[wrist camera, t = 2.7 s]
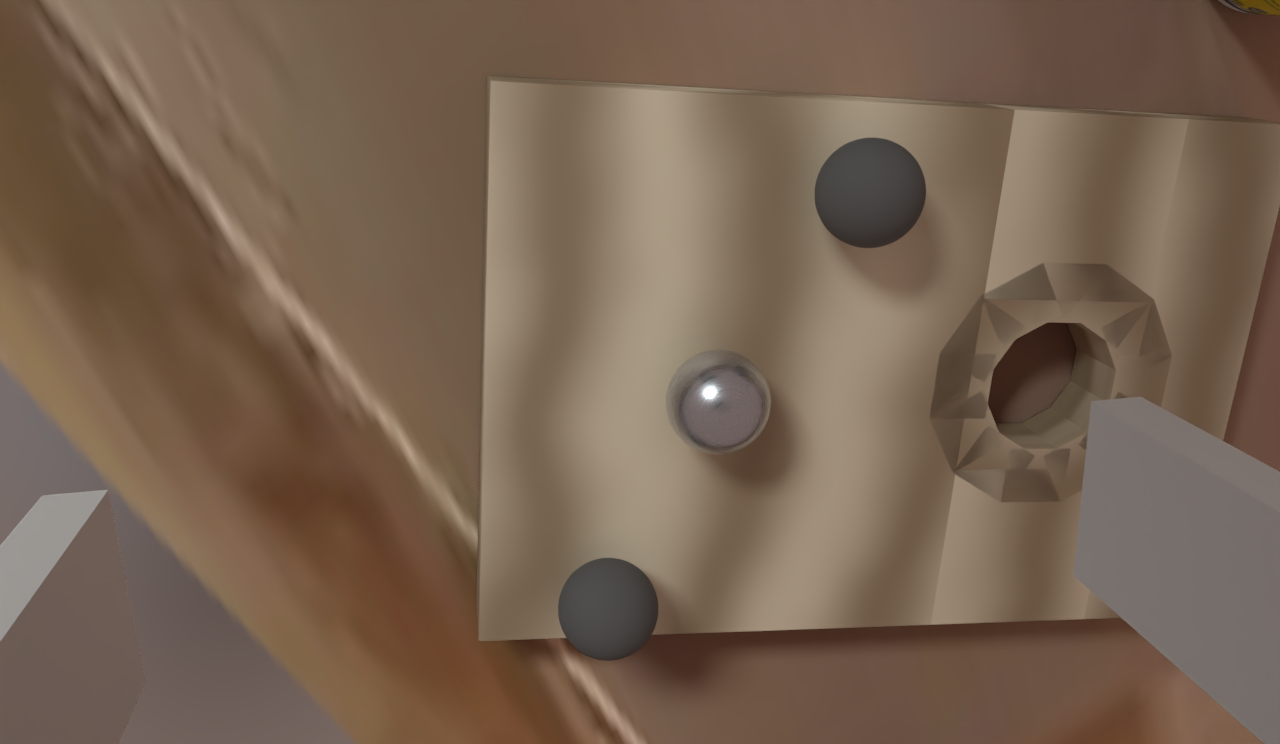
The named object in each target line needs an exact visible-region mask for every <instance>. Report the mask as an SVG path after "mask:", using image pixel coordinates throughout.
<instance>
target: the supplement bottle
mask: <svg viewBox="0 0 1280 744" xmlns="http://www.w3.org/2000/svg"><path fill="white" fill-rule="evenodd" d="M1218 1H1219V2H1221V3H1222V4H1224V5H1225V6H1227V7H1229V8H1231V9H1234V10H1237V11H1240V12H1244V13H1251V14H1263V15H1280V0H1218Z"/></svg>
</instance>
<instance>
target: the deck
mask: <svg viewBox="0 0 1280 744" xmlns="http://www.w3.org/2000/svg"><path fill="white" fill-rule="evenodd" d="M862 138H882V139H887V140H890V141H893V142H895V143H897V144H899V145H901V146H902V147H904V148H905V149H906V150H907V151H909V152H910V153H911V154H912V156H913V157H914V158H915V159H916V160H917V162H918V163H919V165H920V167H921V169H922V172H923V175H924V178H925V183H926V199H925V204H924V207H923V210H922V213H921V215H920V217H919V219H918V220H917V222H916V224H915V225H914V226H913V227H912V229H911V230H910V231H909V232H908V233H907V234H906V235H904V236H903V237H902V238H900V239H899V240H897V241H895V242H893V243H891V244H888V245H885V246H882V247H877V248H860V247H855V246H852V245H849V244H846V243H844V242H842V241H840V240H839V239H837V238H836V237H835V236H833V235H832V234H831V233H830V232H829V231H828V230H827V229H826V227H825V226H824V224H823V223H822V221H821V219H820V217H819V215H818V212H817V210H816V205H815V184H816V180H817V177H818V174H819V172H820V169H821V168H822V166H823V164H824V163H825V161H826V160H827V159H828V158H829V157H830V156H831V154H832V153H833V152H835V151H836V150H837V149H838V148H840V147H841V146H843V145H845V144H847V143H849V142H851V141H854V140H857V139H862ZM1279 207H1280V123H1279V122H1272V121H1265V120H1258V119H1251V118H1239V117H1221V116H1203V115H1185V114H1167V113H1149V112H1131V111H1113V110H1095V109H1077V108H1059V107H1041V106H1023V105H1005V104H987V103H969V102H951V101H933V100H915V99H896V98H878V97H860V96H842V95H824V94H806V93H788V92H770V91H752V90H734V89H716V88H698V87H680V86H662V85H644V84H626V83H608V82H590V81H572V80H554V79H536V78H518V77H500V76H487V110H486V159H485V208H484V257H483V307H482V356H481V405H480V454H479V504H478V553H477V602H476V603H477V620H478V636H479V641H496V640H523V639H551V638H566V636H565V634H564V632H563V631H562V628H561V625H560V622H559V616H558V603H559V597H560V594H561V591H562V588H563V586H564V584H565V583H566V581H567V579H568V578H569V577H570V575H571V574H572V573H573V572H574V571H575V570H577V569H578V568H579V567H581V566H582V565H584V564H585V563H588V562H590V561H592V560H596V559H600V558H616V559H621V560H625V561H627V562H630V563H631V564H633V565H635V566H636V567H638V568H639V569H640V570H642V571H643V572H644V574H645V575H646V576H647V577H648V578H649V580H650V581H651V583H652V585H653V587H654V589H655V591H656V595H657V599H658V619H657V623H656V626H655V629H654V631H653V633H652V635H661V634H689V633H717V632H744V631H772V630H799V629H827V628H855V627H882V626H910V625H937V624H965V623H993V622H1020V621H1048V620H1075V619H1103V618H1121V617H1120V616H1119V615H1117V614H1116V613H1115V612H1114V611H1113V610H1112V609H1111V608H1110V607H1108V606H1107V605H1106V604H1105V603H1104V602H1103V601H1102V600H1100V599H1099V598H1098V597H1097V596H1096V595H1095V594H1094V593H1093V592H1091V591H1090V590H1089V589H1088V588H1087V587H1086V586H1085V585H1083V584H1082V583H1081V582H1080V581H1079V580H1078V579H1077V578H1076V577H1074V576H1073V573H1074V563H1075V554H1076V544H1077V534H1078V524H1079V515H1080V505H1081V495H1082V485H1083V476H1084V466H1085V456H1086V447H1087V437H1088V427H1089V417H1090V408H1091V401H1098V400H1109V399H1120V398H1131V397H1143V398H1144V399H1146V400H1148V401H1150V402H1152V403H1154V404H1155V405H1157V406H1159V407H1161V408H1163V409H1165V410H1167V411H1168V412H1170V413H1172V414H1174V415H1176V416H1178V417H1180V418H1181V419H1183V420H1185V421H1187V422H1189V423H1191V424H1192V425H1194V426H1196V427H1198V428H1200V429H1202V430H1204V431H1205V432H1207V433H1209V434H1211V435H1213V436H1215V437H1217V438H1218V439H1220V440H1222V441H1223V440H1224V436H1225V431H1226V427H1227V423H1228V419H1229V415H1230V411H1231V407H1232V402H1233V398H1234V394H1235V390H1236V386H1237V382H1238V377H1239V373H1240V369H1241V365H1242V361H1243V357H1244V353H1245V348H1246V344H1247V340H1248V336H1249V332H1250V328H1251V323H1252V319H1253V315H1254V311H1255V307H1256V303H1257V299H1258V294H1259V290H1260V286H1261V282H1262V278H1263V274H1264V269H1265V265H1266V261H1267V257H1268V253H1269V249H1270V245H1271V240H1272V236H1273V232H1274V228H1275V224H1276V220H1277V215H1278V211H1279ZM1047 322H1054V323H1067V324H1068V327H1069V330H1070V332H1071V335H1072V338H1073V341H1074V344H1075V347H1076V354H1075V359H1074V364H1073V369H1072V374H1071V380H1070V382H1069V383H1068V384H1067V386H1066V387H1065V388H1064V390H1063V391H1062V392H1061V394H1060V395H1059V396H1058V398H1057V399H1056V400H1055V402H1054V403H1053V404H1052V406H1051V407H1050V408H1048V409H1047V410H1045V411H1043V412H1041V413H1039V414H1037V415H1035V416H1033V417H1032V418H1030V419H1028V420H1026V421H1024V422H1022V423H995V421H994V418H993V416H992V413H991V411H990V408H989V406H988V399H989V393H990V387H991V381H992V375H993V369H994V368H995V367H996V365H997V364H998V362H999V361H1000V360H1001V358H1002V357H1003V356H1004V354H1005V353H1006V352H1007V350H1008V349H1009V348H1010V346H1011V345H1012V343H1013V342H1014V341H1015V339H1017V338H1019V337H1021V336H1023V335H1025V334H1027V333H1029V332H1030V331H1032V330H1034V329H1036V328H1038V327H1040V326H1042V325H1044V324H1045V323H1047ZM718 349H721V350H729V351H733V352H736V353H738V354H741V355H743V356H745V357H746V358H748V359H749V360H751V361H752V362H753V363H754V364H755V365H756V366H757V367H758V368H759V369H760V370H761V372H762V373H763V375H764V377H765V378H766V380H767V383H768V385H769V389H770V394H771V410H770V415H769V419H768V422H767V424H766V426H765V428H764V429H763V431H762V432H761V434H760V435H759V436H758V437H757V438H756V439H755V440H754V441H753V442H752V443H751V444H750V445H748V446H747V447H745V448H743V449H741V450H739V451H736V452H733V453H729V454H722V455H716V454H708V453H704V452H701V451H698V450H696V449H694V448H692V447H691V446H689V445H688V444H686V443H685V442H684V441H683V440H682V439H681V438H680V437H679V436H678V435H677V434H676V432H675V431H674V429H673V428H672V426H671V423H670V421H669V418H668V415H667V410H666V394H667V389H668V385H669V383H670V380H671V378H672V377H673V375H674V373H675V372H676V370H677V369H678V368H679V367H680V366H681V365H682V364H683V363H684V362H685V361H686V360H687V359H689V358H690V357H692V356H694V355H696V354H698V353H701V352H704V351H709V350H718Z"/></svg>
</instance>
